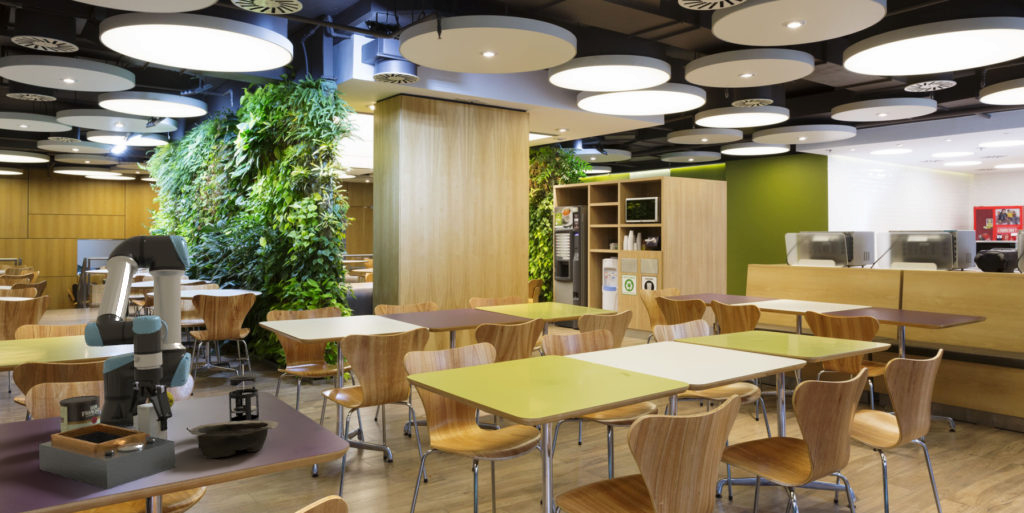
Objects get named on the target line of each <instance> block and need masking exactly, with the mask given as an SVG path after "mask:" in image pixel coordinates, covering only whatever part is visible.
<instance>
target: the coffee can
mask: <svg viewBox="0 0 1024 513" xmlns="http://www.w3.org/2000/svg"><path fill="white" fill-rule="evenodd" d="M100 399H101V397H100V396H99V395H78V396H74V397H73V396H72V397H68V398H65V399H61V400H60V401H59V407H60V408H59V409H60V410H59V411H60V433H61V432H65V431H69V430H73V429H77V428H82V427H86V426H90V425H94V424H98V423H100V413H101V409H100V408H101V407H100Z"/></svg>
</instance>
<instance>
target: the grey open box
mask: <svg viewBox="0 0 1024 513" xmlns="http://www.w3.org/2000/svg"><path fill="white" fill-rule="evenodd" d="M175 442H176V441H173V440H169V439H167V440H165V439H160V438H156V437H151V436H146V435H145V432H141V431H136V430H134V429H130V428H126V427H122V426H121V427H116V426H111V425H106V424H102V423H98V424H94V425H90V426H86V427H82V428H77V429H73V430H69V431H65V432H61V431H60V432H57V433H56V432H55V433H52V434H50V441H46V442H43V443H39V444H38V449H39V450H38V452H39V453H38V454H39V458H38V459H39V470H40V469H41V470H40V471H42V470H44V471H43V472H46V471H47V472H46V473H49V472H51V473H50V474H53V473H54V475H56V474H57V476H60V475H61V477H63V476H64V477H63V478H67V477H68V479H70V478H72V479H71V480H74V479H75V481H77V480H78V482H81V483H84V482H85V484H88V483H89V485H91V484H92V486H95V485H96V486H95V487H98V486H100V487H99V488H102V487H103V489H105V488H106V490H109V489H113V488H116V487H119V486H122V485H124V484H127V483H130V482H135V481H136V480H139V479H140V480H141V479H142V478H147V477H149V476H152V475H155V474H158V473H162V472H164V471H167V470H170V469H174V468H176V450H175V449H176V447H175V446H176V445H175ZM118 485H119V486H118ZM115 486H116V487H115Z"/></svg>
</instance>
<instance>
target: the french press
mask: <svg viewBox="0 0 1024 513" xmlns="http://www.w3.org/2000/svg"><path fill="white" fill-rule="evenodd" d="M249 360H250V358H249V357H239V358H237V359H235V361H238V362H240V363H241V366H242V374H237V375H233V376H230V377H228V379H227V380H229V385H230V386H233V387H236V386H239V385H240V384H241V383H242V389H241V388H240V389H239V388H237V389H235V390H231V391H229V392H228V409H229V412H228V413H229V415H228V416H229V422H234V421H245V420H251V421H260V413H259V412H260V408H259V407H260V406H259V405H260V404H259V389H257V388H245V382H253V383H254V384H257V378H258V376H259V375H257V374H254V373H253V374H251V373H250V374H249V373H248V374H247V373H246V374H245V373H244V369H245V368H244V367H245V366H244V365H245V361H249ZM254 397H255V399H256V400H255V402H256V403H255V404H256V405H252V398H254ZM232 399H233V400H234V402H235V407H232ZM254 412H256V414H253V413H254ZM233 414H235V416H233Z"/></svg>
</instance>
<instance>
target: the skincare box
mask: <svg viewBox="0 0 1024 513" xmlns="http://www.w3.org/2000/svg"><path fill="white" fill-rule="evenodd" d="M137 413H138V431H141V432H145V435H146V436H151V437H156V438H157V419H158V417H157V414H156V412H155V409H154V407H153V404H152V403H148V402H146V404H142V405H138V406H137ZM161 416H162V415H161Z"/></svg>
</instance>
